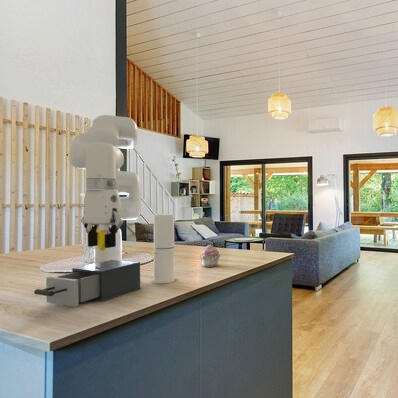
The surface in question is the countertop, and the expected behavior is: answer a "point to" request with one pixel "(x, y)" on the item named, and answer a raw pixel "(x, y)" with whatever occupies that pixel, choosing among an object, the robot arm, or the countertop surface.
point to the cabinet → (114, 277)
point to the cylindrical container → (163, 248)
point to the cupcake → (210, 256)
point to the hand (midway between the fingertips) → (101, 246)
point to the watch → (101, 239)
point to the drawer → (71, 288)
